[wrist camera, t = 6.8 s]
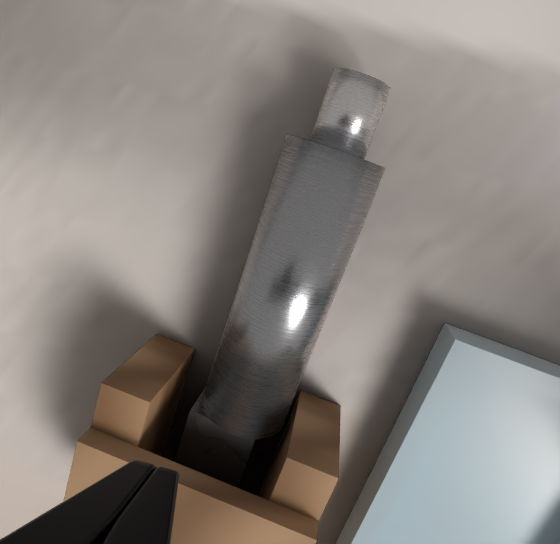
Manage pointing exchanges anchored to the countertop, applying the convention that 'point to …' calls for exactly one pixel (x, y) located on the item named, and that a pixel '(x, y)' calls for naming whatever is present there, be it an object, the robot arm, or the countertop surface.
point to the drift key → (212, 448)
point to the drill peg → (296, 260)
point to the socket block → (197, 486)
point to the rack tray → (468, 452)
